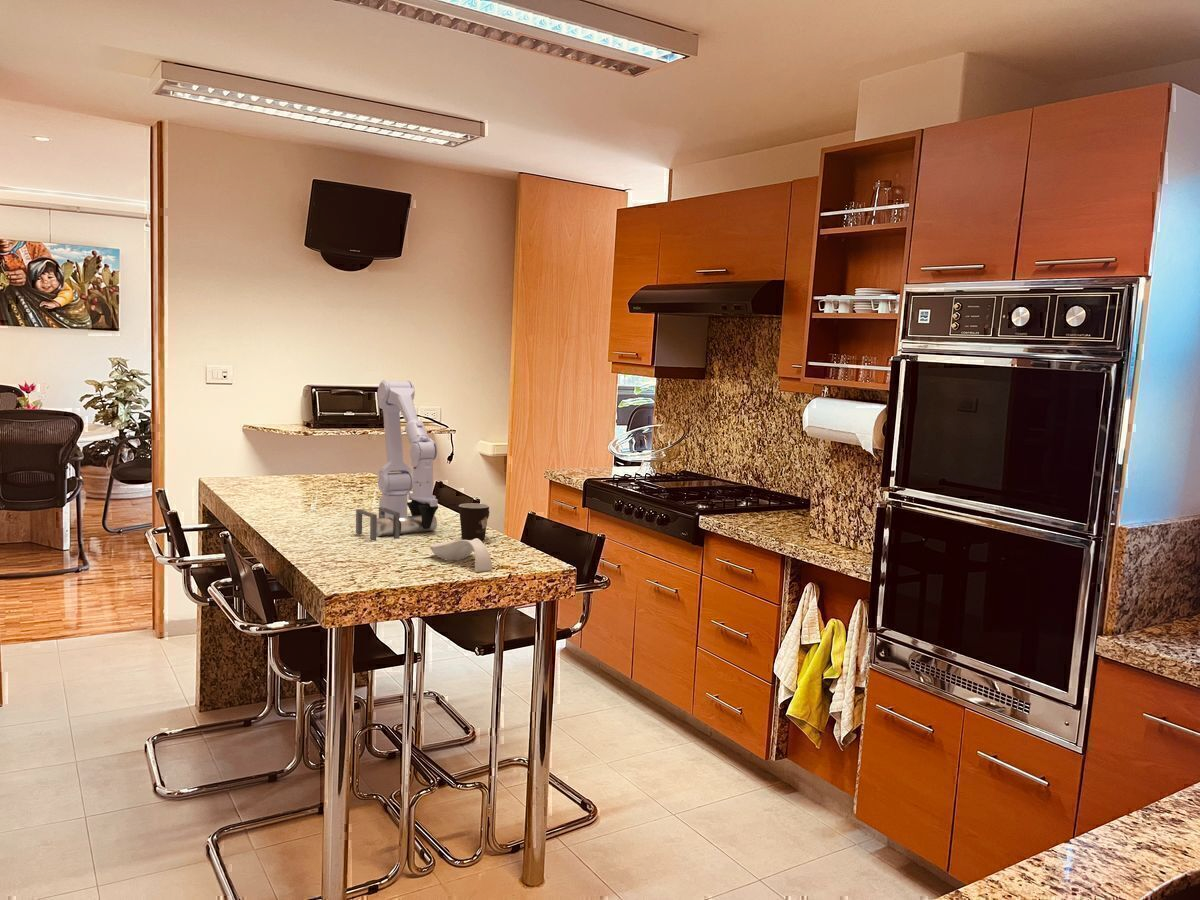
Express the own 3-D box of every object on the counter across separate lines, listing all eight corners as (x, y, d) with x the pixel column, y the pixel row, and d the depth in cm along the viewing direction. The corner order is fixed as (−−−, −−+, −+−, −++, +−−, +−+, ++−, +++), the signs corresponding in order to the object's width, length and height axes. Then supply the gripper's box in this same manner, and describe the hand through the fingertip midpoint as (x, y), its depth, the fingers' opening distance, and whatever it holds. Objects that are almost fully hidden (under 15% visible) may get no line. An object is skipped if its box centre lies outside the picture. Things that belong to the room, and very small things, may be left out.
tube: (380, 538, 256) (380, 520, 255) (372, 534, 259) (373, 517, 259) (436, 532, 267) (437, 515, 266) (428, 528, 271) (428, 512, 270)
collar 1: (355, 534, 259) (356, 509, 259) (359, 533, 260) (360, 508, 259) (372, 540, 251) (372, 515, 250) (376, 540, 252) (376, 514, 251)
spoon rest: (421, 556, 235) (422, 529, 234) (462, 552, 242) (462, 525, 241) (463, 575, 216) (464, 546, 215) (506, 570, 223) (507, 541, 222)
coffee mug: (468, 544, 251) (469, 509, 250) (452, 539, 258) (453, 504, 257) (503, 540, 258) (504, 506, 257) (486, 535, 265) (487, 501, 264)
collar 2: (378, 532, 264) (378, 507, 263) (382, 531, 264) (382, 507, 264) (395, 538, 255) (395, 513, 255) (399, 538, 256) (399, 512, 255)
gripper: (447, 484, 262) (446, 529, 263) (423, 478, 273) (422, 522, 275) (425, 485, 258) (424, 532, 259) (402, 479, 269) (401, 524, 270)
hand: (422, 527), depth 267 cm, fingers closed on tube, 5 cm apart
